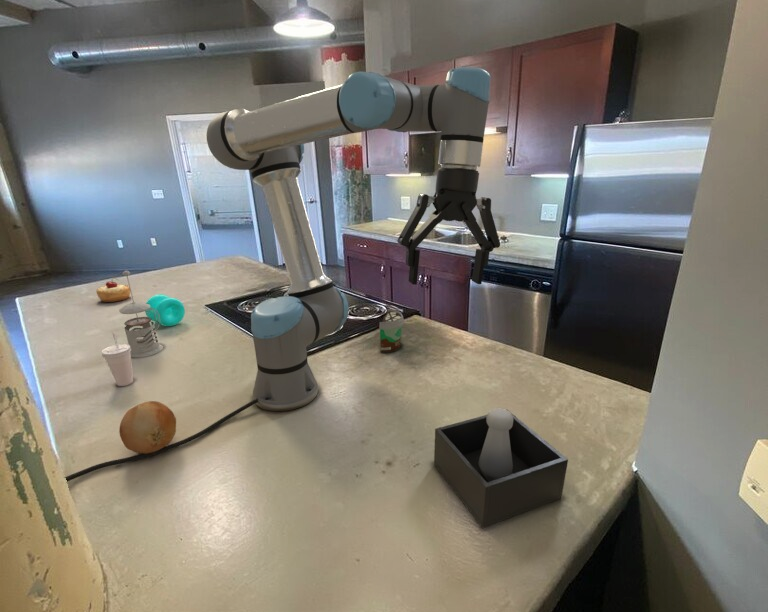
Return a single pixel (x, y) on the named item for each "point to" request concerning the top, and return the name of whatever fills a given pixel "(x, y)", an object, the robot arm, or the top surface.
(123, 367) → the smoothie
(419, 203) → the robot arm
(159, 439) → the onion
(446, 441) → the basket
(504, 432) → the salt shaker
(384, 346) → the food container
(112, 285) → the pastry
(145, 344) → the french press
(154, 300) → the turquoise short spool shape
